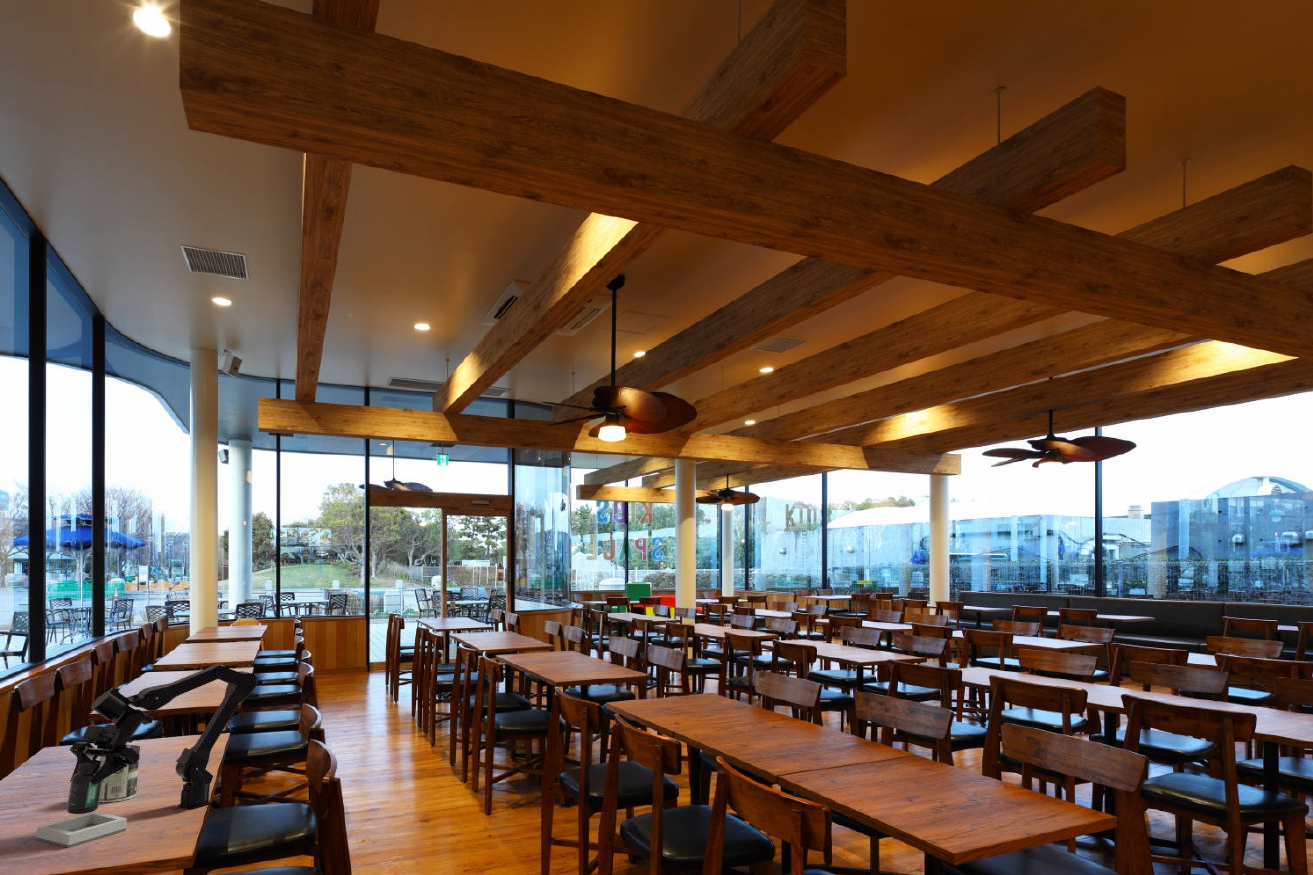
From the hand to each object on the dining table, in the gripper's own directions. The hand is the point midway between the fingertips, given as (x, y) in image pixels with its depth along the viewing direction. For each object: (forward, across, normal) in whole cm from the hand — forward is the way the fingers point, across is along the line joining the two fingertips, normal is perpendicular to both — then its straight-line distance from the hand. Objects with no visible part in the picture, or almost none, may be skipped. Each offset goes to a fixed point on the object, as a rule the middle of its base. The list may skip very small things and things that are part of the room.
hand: (82, 783), depth 210 cm
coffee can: (-11, -22, +30) cm, 39 cm away
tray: (+8, 0, +10) cm, 13 cm away
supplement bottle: (+4, -1, +6) cm, 7 cm away
